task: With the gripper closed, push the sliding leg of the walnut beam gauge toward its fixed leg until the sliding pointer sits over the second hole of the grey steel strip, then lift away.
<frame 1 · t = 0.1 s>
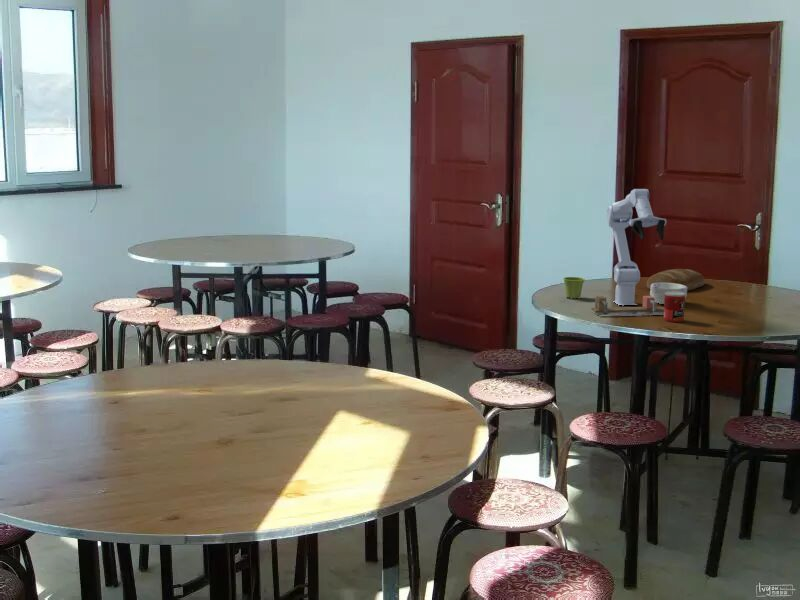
hand: (652, 238, 390), 32 cm above the table, tool tilted 50°, fingers open, 7 cm apart
plant pot: (573, 298, 438), on the table
canned food: (673, 321, 391), on the table
bread: (675, 288, 466), on the table
paper bowls: (667, 303, 426), on the table
sliding leg: (650, 303, 405), point 4 cm above the table, slide at 16.0 cm
gauge beam: (628, 312, 407), on the table
hole plate: (633, 315, 401), on the table
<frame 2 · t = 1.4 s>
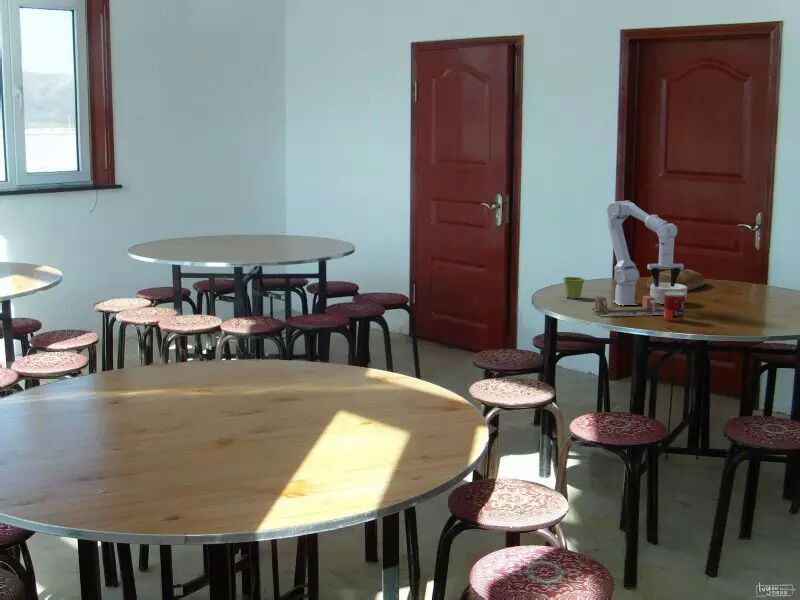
hand: (664, 286, 407), 10 cm above the table, tool pointing down, fingers open, 6 cm apart
nothing on the table moved.
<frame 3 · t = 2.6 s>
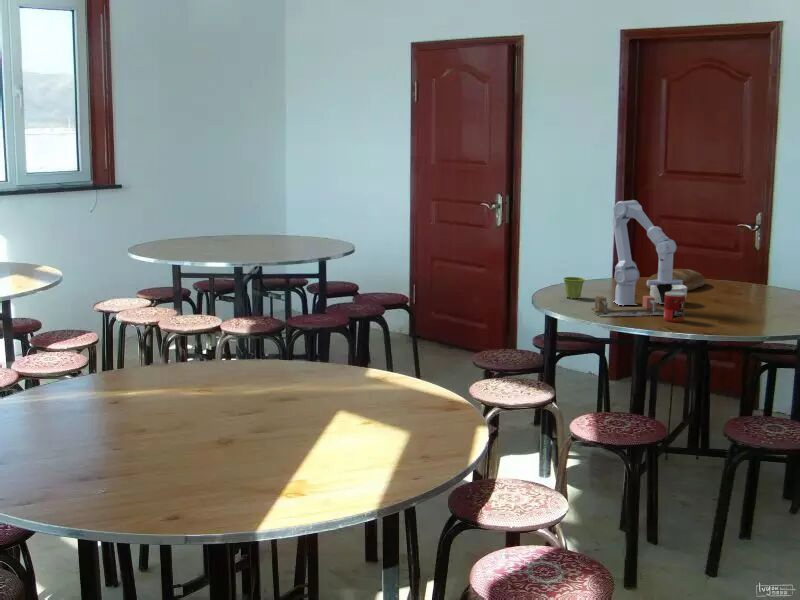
hand: (663, 302, 408), 4 cm above the table, tool pointing down, fingers closed
nothing on the table moved.
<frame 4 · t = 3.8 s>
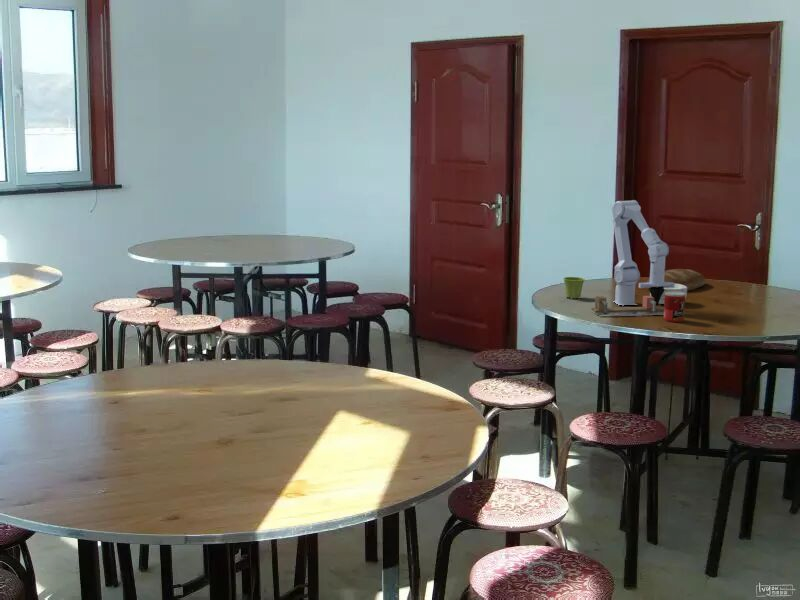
hand: (655, 305, 408), 3 cm above the table, tool pointing down, fingers closed
sliding leg: (650, 303, 405), point 4 cm above the table, slide at 16.0 cm, touching gripper
everything else where it was.
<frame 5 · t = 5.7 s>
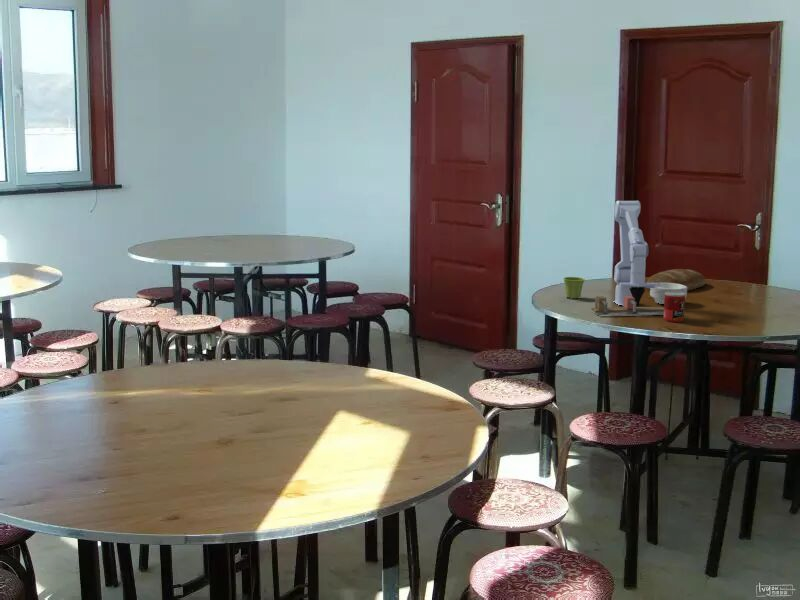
hand: (636, 305, 407), 3 cm above the table, tool pointing down, fingers closed
sliding leg: (631, 303, 404), point 4 cm above the table, slide at 7.9 cm, touching gripper
everything else where it was.
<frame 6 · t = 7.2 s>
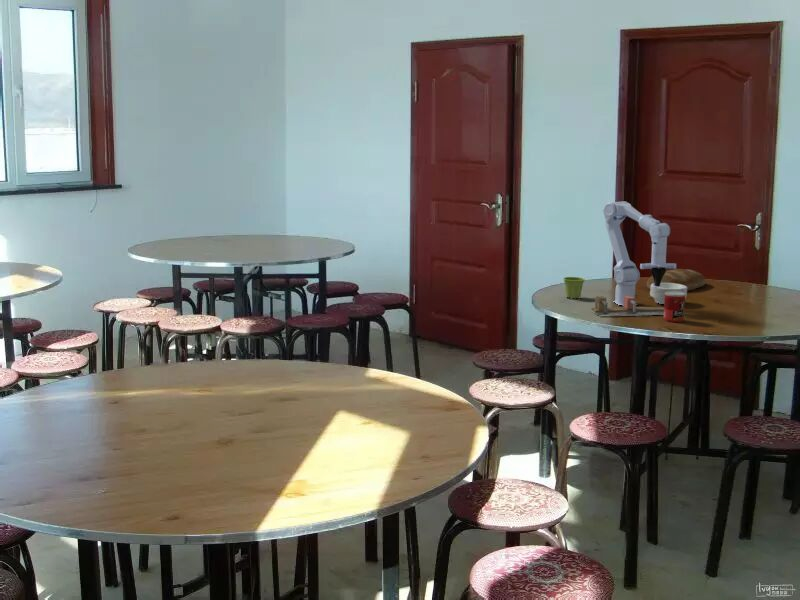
hand: (657, 286, 407), 10 cm above the table, tool pointing down, fingers closed
sliding leg: (631, 303, 404), point 4 cm above the table, slide at 7.9 cm
everything else where it was.
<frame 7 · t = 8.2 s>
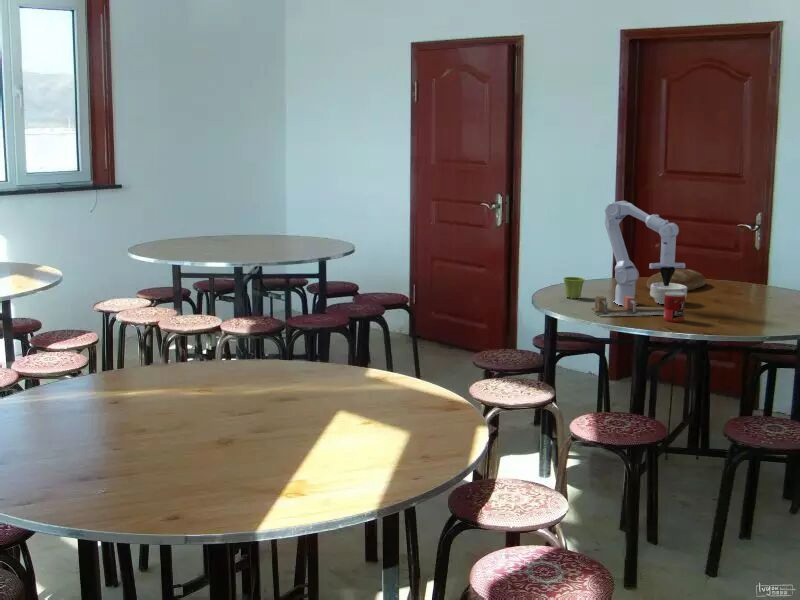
hand: (666, 285, 409), 10 cm above the table, tool pointing down, fingers closed
nothing on the table moved.
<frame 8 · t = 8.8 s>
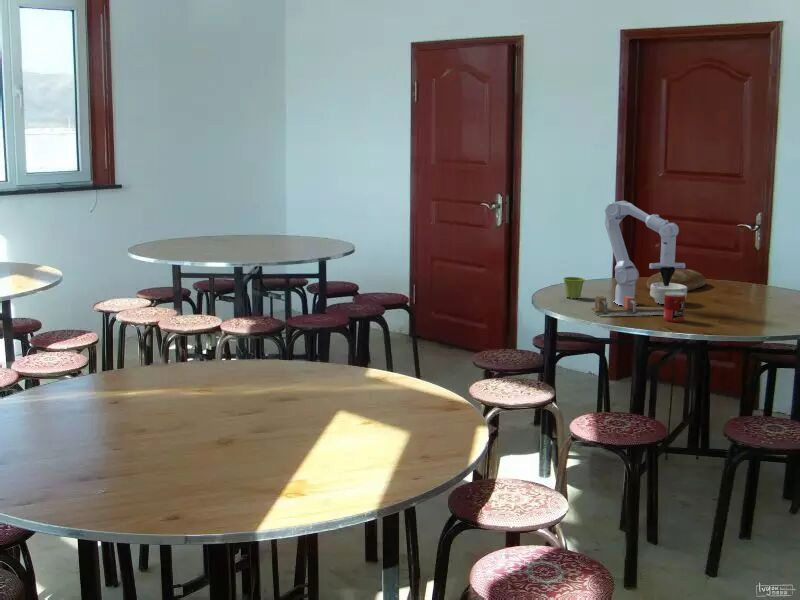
hand: (666, 285, 409), 10 cm above the table, tool pointing down, fingers closed
nothing on the table moved.
at the end: sliding leg slide at 7.9 cm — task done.
